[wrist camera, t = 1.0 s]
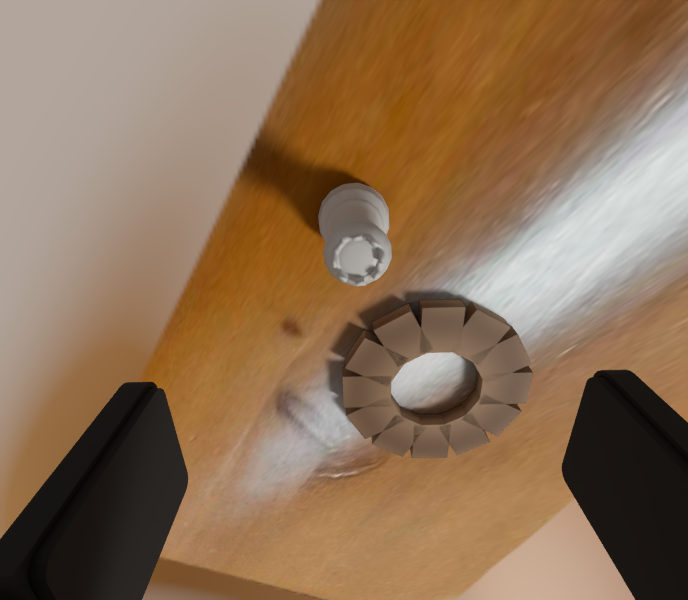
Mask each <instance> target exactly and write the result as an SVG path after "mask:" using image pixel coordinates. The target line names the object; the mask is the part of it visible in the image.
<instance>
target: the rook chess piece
mask: <svg viewBox="0 0 688 600" xmlns="http://www.w3.org/2000/svg"><path fill="white" fill-rule="evenodd" d="M318 219H319V228H320V233H321V235H322V237H323V239H324V240H325V242H326V244H325V247H324V250H323V252H324V260H325V264H326V266H327V268H328V270H329V271H330V273H331V275H333V276H334V277H335V278H337V279H338V280H339V281H341V282H343V283H347V284H350V285H355V286H366V284H368V283H370V282H372V281H376V280H377V279H378V278H379V277H380V276H381V275H382V274H383V273H384V272H385V271H386V270H387V268H388V265H389V263H390V260H391V258H392V256H391V244H390V242H389V240H388V238H387V236H386V234H387V232H388V229H389V212H388V207H387V205H386V203H385V201H384V199H383V197H382V196H381V195H380V194H379V193H378V192H377V191H376V190H374V189H373V188H372V187H370V186H367V185H364V184H360V183H350V184H343V185H341V186H339V187H337V188H335V189H334V190H332V191H330V193H329V194H328V195H327V196H326V198H325V199H324V200H323V201H322V204H321V207H320V211H319V214H318Z"/></svg>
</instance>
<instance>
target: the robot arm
mask: <svg viewBox="0 0 688 600" xmlns="http://www.w3.org/2000/svg"><path fill="white" fill-rule="evenodd" d="M562 473H563V477H564V480H565V482H566V484H567V485H568V487H569V489H570V490H571V492H572V494H573V495H574V497H575V499H576V500H577V502H578V503H579V506H580V507H581V509H582V511H583V512H584V514H585V516H586V517H587V519H588V521H589V522H590V524H591V526H592V527H593V529H594V531H595V532H596V534H597V536H598V537H599V539H600V541H601V542H602V544H603V546H604V548H605V549H606V551H607V552H608V554H609V556H610V558H611V559H612V561H613V563H614V564H615V566H616V568H617V569H618V571H619V573H620V574H621V576H622V578H623V579H624V581H625V583H626V585H627V586H628V588H629V590H630V591H631V593H632V595H633V596H634V598H635V600H688V422H686V421H685V420H684V419H683V418H682V417H681V416H680V415H679V414H678V413H677V412H676V411H674V410H673V409H672V408H671V407H670V406H669V405H668V404H667V403H666V402H665V401H664V400H662V399H661V398H660V397H659V396H658V395H657V394H656V393H655V392H654V391H653V390H652V389H650V388H649V387H648V386H647V385H646V384H645V383H644V382H643V381H642V380H641V379H639V378H638V377H637V376H636V375H635V374H634V373H632V372H631V371H629V370H601V371H597V372H596V373H595V374H594V377H592V378H589V379H588V380H587V383H586V386H585V389H584V392H583V396H582V399H581V402H580V406H579V409H578V413H577V416H576V419H575V423H574V426H573V429H572V433H571V436H570V439H569V443H568V446H567V450H566V453H565V456H564V460H563V463H562ZM187 484H188V473H187V469H186V466H185V462H184V459H183V455H182V452H181V448H180V444H179V441H178V437H177V434H176V430H175V427H174V423H173V420H172V416H171V413H170V409H169V406H168V402H167V398H166V395H165V392H164V390H163V389H161V388H157V386H156V384H155V383H153V382H131V383H130V382H128V383H124V384H123V385H122V386H121V387H120V388H119V389H118V390H117V392H116V393H115V394H114V395H113V397H112V398H111V399H110V401H109V402H108V403H107V404H106V406H105V407H104V408H103V409H102V411H101V412H100V413H99V414H98V416H97V417H96V418H95V420H94V421H93V422H92V423H91V425H90V426H89V427H88V428H87V430H86V431H85V432H84V434H83V435H82V436H81V437H80V439H79V440H78V441H77V442H76V444H75V445H74V446H73V448H72V449H71V450H70V451H69V453H68V454H67V455H66V457H65V458H64V459H63V460H62V461H61V463H60V464H59V465H58V467H57V468H56V469H55V470H54V472H53V473H52V474H51V475H50V477H49V478H48V479H47V481H46V482H45V483H44V484H43V486H42V487H41V488H40V490H39V491H38V492H37V493H36V495H35V496H34V497H33V498H32V500H31V501H30V502H29V503H28V505H27V506H26V507H25V508H24V510H23V511H22V512H21V514H20V515H19V516H18V517H17V519H16V520H15V521H14V522H13V524H12V525H11V526H10V528H9V529H8V530H7V531H6V533H5V534H4V535H3V536H2V538H1V539H0V600H142V598H143V596H144V593H145V591H146V588H147V586H148V583H149V581H150V578H151V576H152V573H153V571H154V568H155V566H156V563H157V561H158V559H159V556H160V554H161V551H162V549H163V546H164V544H165V541H166V539H167V536H168V534H169V531H170V529H171V526H172V524H173V521H174V519H175V517H176V514H177V512H178V509H179V507H180V504H181V502H182V499H183V497H184V494H185V492H186V489H187Z"/></svg>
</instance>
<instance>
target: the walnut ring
mask: <svg viewBox="0 0 688 600" xmlns="http://www.w3.org/2000/svg"><path fill="white" fill-rule="evenodd" d="M465 308H466V307H465V305H464V304H463V302H462V300H461V299H452V300H419V315H418V319H417V317H416V316H415V314H414V312H413V311H412V309H411V307H410V306H409V304H406V305H404V306H402V307H400V308H398V309H396V310H394V311H392V312H391V313H389V314H387V315H385V316H383V317H381V318H379V319H377V320H375V321H373V322H372V324H373V331H374V332H375V334H376V335H375V334H373V333H371V332H369V331H367V330H365V329H364V330H363V332H362V333H361V335H360V336H359V338H358V340H357V341H356V343H355V344H354V346H353V347H352V349H351V350H350V352H349V353H348V355H347V356H346V358H345V367H342V376H343V408H346V416H347V417H348V418H349V419H350V421H351V422H352V423H353V424H354V426H355V427H356V428H357V430H358V431H359V432H360V433H361V435H362V436H363V437H364V438H365V439H367V438H369V437H371V436H372V444H373V445H375V446H377V447H380V448H382V449H385V450H387V451H390V452H392V453H395V454H397V455H400V456H402V457H403V456H404V454H405V453H406V452H407V451H408V450H409V448H410V451H411V456H412V458H447V454H448V446H449V444H450V446H451V447H452V449H453V450H454V452H455V453H456V455H459V454H462V453H464V452H466V451H469V450H471V449H474V448H476V447H478V446H481V445H483V444H486V443H488V442H490V441H489V439H488V437H487V434H486V432H485V431H487V432H490V433H492V434H494V435H496V436H499V435H500V434H501V432H502V431H503V430H504V429H505V428H506V427H507V426H508V425H509V424H510V423H511V422H512V421H513V420H514V419H515V418H516V417H517V416H518V415H519V414H520V412H521V410H520V408H519V407H518V405H517V404H523V403H526V401H527V397H528V392H529V388H530V383H531V379H532V374H533V372H532V370H531V369H530V368H529V366H528V365H530V364H532V363H531V361H530V358H529V356H528V354H527V352H526V350H525V348H524V346H523V344H522V342H521V340H520V338H519V336H518V334H517V333H516V331H515V330H514V329H513V327H512V326H509V324H508V323H507V322H506V320H505V319H504V318H502V317H500V316H498V315H496V314H494V313H492V312H490V311H488V310H486V309H485V308H483V307H481V306H479V305H477V304H475V303H473V302H471V303H470V305H469V306H468V307H467V309H466V310H465ZM437 352H453V353H455V354H457V355H459V356H461V357H463V358H466V359H468V360H470V361H472V362H473V363H474V365H475V366H476V368H477V370H478V373H477V379H476V386H475V390H474V391H473V392H472V393H471V394H470V395H469V397H468V398H467V399H466V400H465V401H464V402H463V404H462V405H460V406H458V407H455V408H453V409H451V410H449V411H447V412H444V413H442V414H421V415H418V414H416V413H414V412H412V411H409V410H407V409H405V408H402V407H400V406H399V405H398V403H397V402H396V400H395V399H394V398H393V396H392V395H391V381H392V380H393V379H394V377H395V376H396V375H397V373H398V372H399V370H400V369H401V368H402V366H403V365H404V364H405V363H407V362H409V361H411V360H413V359H415V358H417V357H419V356H421V355H423V354H425V353H437Z"/></svg>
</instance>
